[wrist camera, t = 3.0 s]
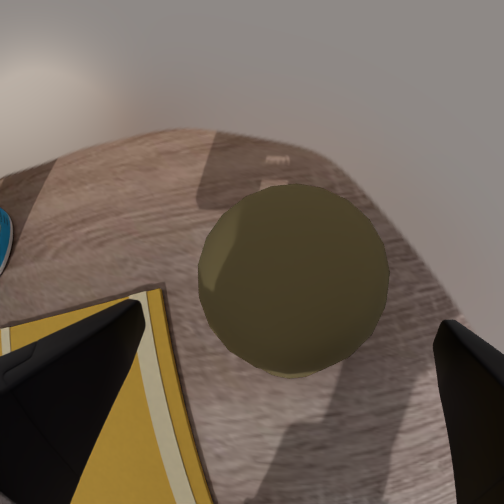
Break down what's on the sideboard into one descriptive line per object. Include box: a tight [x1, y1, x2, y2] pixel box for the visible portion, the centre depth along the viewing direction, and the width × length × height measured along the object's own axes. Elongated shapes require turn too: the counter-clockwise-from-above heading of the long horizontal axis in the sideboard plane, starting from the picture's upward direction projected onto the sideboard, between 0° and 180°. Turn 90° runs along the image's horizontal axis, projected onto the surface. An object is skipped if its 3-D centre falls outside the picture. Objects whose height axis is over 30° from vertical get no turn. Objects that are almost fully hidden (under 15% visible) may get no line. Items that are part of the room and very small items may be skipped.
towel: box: [0, 288, 213, 504], centre depth 15 cm, size 20×16×1 cm
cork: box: [198, 184, 390, 378], centre depth 12 cm, size 6×6×11 cm
